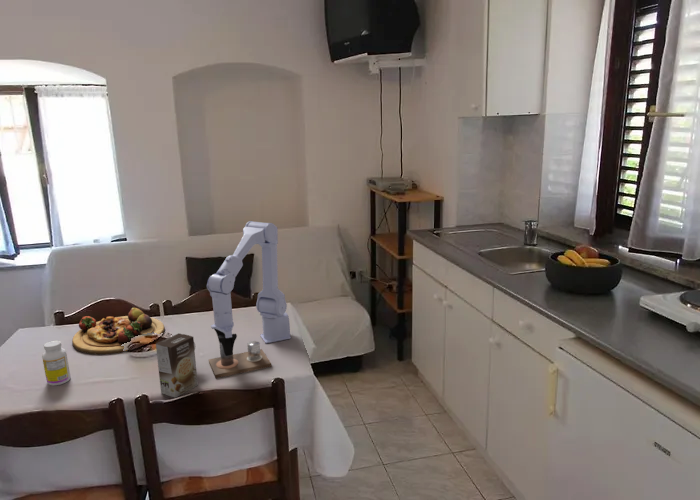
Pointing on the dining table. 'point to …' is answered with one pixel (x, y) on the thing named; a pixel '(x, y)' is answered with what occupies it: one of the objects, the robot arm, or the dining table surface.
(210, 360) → the board
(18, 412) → the dining table surface
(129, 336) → the wooden plate with food
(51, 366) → the supplement bottle
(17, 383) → the dining table surface
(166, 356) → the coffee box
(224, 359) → the steel pin
